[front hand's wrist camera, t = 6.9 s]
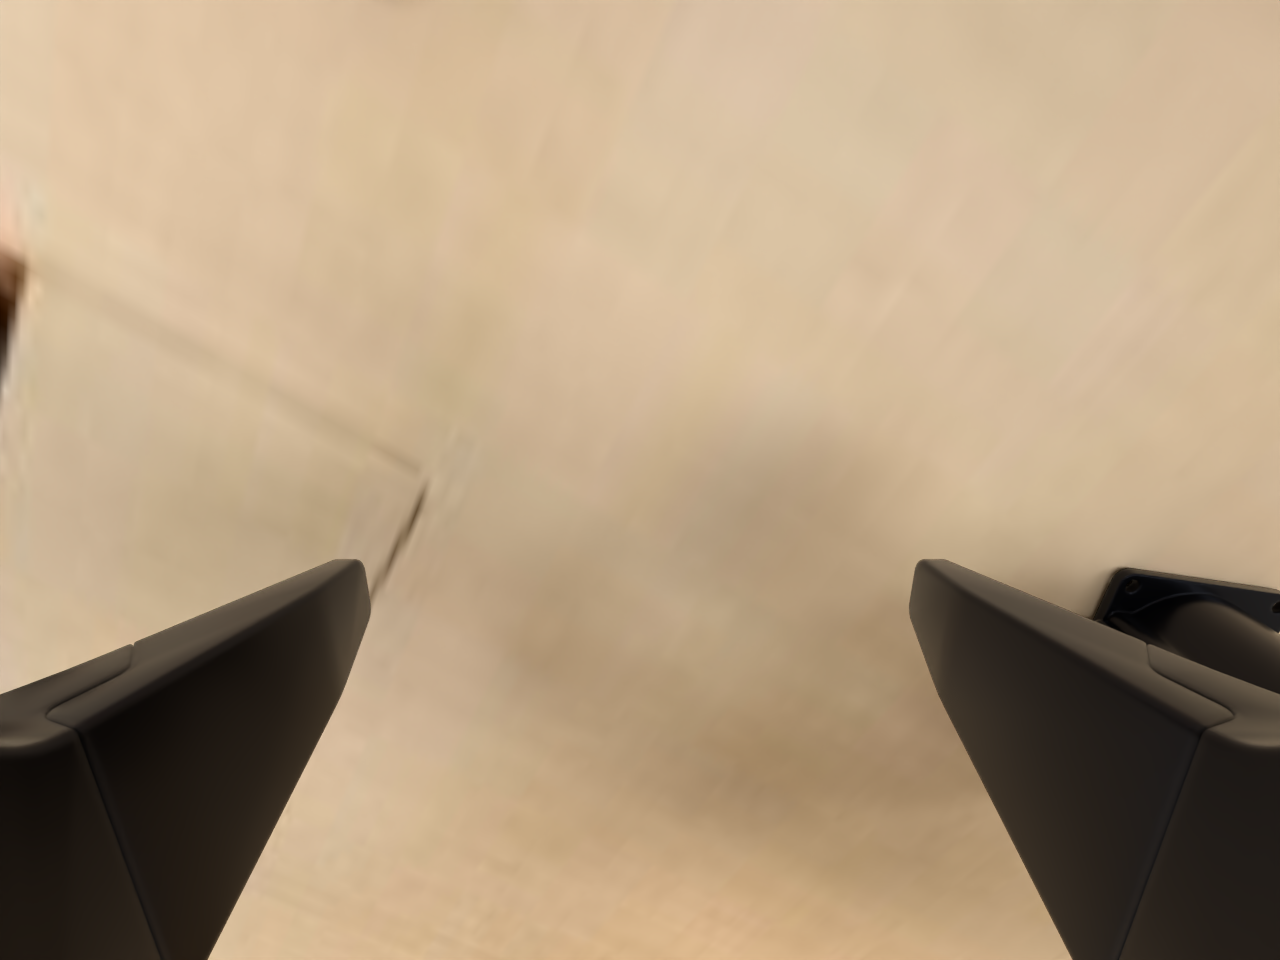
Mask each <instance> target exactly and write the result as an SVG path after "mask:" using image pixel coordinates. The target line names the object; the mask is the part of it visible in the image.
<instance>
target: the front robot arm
mask: <svg viewBox="0 0 1280 960" xmlns="http://www.w3.org/2000/svg"><path fill="white" fill-rule="evenodd" d="M1132 580H1133V581H1132ZM1130 581H1132V583H1131V584H1130V585H1128V586H1127V587H1126V585H1127V583H1128V582H1130ZM1275 603H1276V604H1275ZM1274 604H1275V605H1274ZM1273 605H1274V606H1273ZM370 613H371V603H370V597H369V591H368V585H367V578H366V572H365V568H364V565H363V563H362V562H361V561H360V560H357V559H336V560H332V561H330V562H328V563H325V564H323V565H320V566H318V567H315V568H313V569H311V570H308V571H306V572H303V573H301V574H299V575H296V576H294V577H291V578H289V579H286V580H284V581H282V582H279V583H277V584H274V585H272V586H270V587H267V588H265V589H262V590H260V591H257V592H255V593H253V594H250V595H248V596H245V597H243V598H240V599H238V600H236V601H233V602H231V603H228V604H226V605H224V606H221V607H219V608H216V609H214V610H211V611H209V612H207V613H204V614H202V615H199V616H197V617H195V618H192V619H190V620H187V621H185V622H182V623H180V624H178V625H175V626H173V627H170V628H168V629H165V630H163V631H161V632H158V633H156V634H153V635H151V636H149V637H146V638H144V639H141V640H139V641H136V642H135V643H134V646H133V645H131V644H130V645H127V646H124V647H122V648H119V649H117V650H114V651H112V652H110V653H107V654H105V655H102V656H100V657H97V658H95V659H92V660H90V661H87V662H85V663H82V664H80V665H77V666H75V667H72V668H70V669H67V670H65V671H62V672H59V673H57V674H54V675H51V676H49V677H46V678H43V679H41V680H38V681H35V682H33V683H30V684H28V685H25V686H22V687H20V688H17V689H14V690H11V691H9V692H6V693H3V694H0V960H208V958H209V956H210V954H211V952H212V950H213V948H214V946H215V944H216V942H217V940H218V938H219V936H220V934H221V932H222V930H223V928H224V926H225V924H226V922H227V920H228V918H229V916H230V914H231V912H232V910H233V908H234V906H235V904H236V902H237V900H238V898H239V897H240V895H241V893H242V891H243V889H244V887H245V885H246V883H247V881H248V879H249V877H250V875H251V873H252V871H253V869H254V867H255V865H256V863H257V861H258V859H259V857H260V855H261V853H262V851H263V849H264V847H265V845H266V843H267V841H268V839H269V837H270V835H271V833H272V831H273V830H274V828H275V826H276V824H277V822H278V820H279V818H280V816H281V814H282V812H283V810H284V808H285V806H286V804H287V802H288V800H289V798H290V796H291V794H292V792H293V790H294V788H295V786H296V784H297V782H298V780H299V778H300V776H301V774H302V772H303V770H304V768H305V766H306V764H307V763H308V761H309V759H310V757H311V755H312V753H313V751H314V749H315V747H316V745H317V743H318V741H319V739H320V737H321V735H322V733H323V731H324V729H325V727H326V725H327V723H328V721H329V719H330V717H331V715H332V713H333V711H334V709H335V707H336V705H337V703H338V701H339V699H340V697H341V695H342V692H343V690H344V687H345V685H346V682H347V679H348V677H349V674H350V671H351V668H352V666H353V663H354V660H355V657H356V655H357V652H358V649H359V646H360V644H361V641H362V638H363V635H364V633H365V630H366V627H367V624H368V622H369V618H370ZM909 613H910V618H911V622H912V624H913V627H914V630H915V633H916V635H917V638H918V641H919V644H920V646H921V649H922V652H923V655H924V657H925V660H926V663H927V666H928V668H929V671H930V674H931V677H932V679H933V682H934V685H935V687H936V690H937V692H938V695H939V697H940V699H941V701H942V703H943V705H944V707H945V709H946V711H947V713H948V715H949V717H950V719H951V721H952V723H953V725H954V727H955V729H956V731H957V733H958V735H959V737H960V739H961V741H962V743H963V745H964V747H965V749H966V751H967V753H968V755H969V757H970V759H971V761H972V763H973V765H974V766H975V768H976V770H977V772H978V774H979V776H980V778H981V780H982V782H983V784H984V786H985V788H986V790H987V792H988V794H989V796H990V798H991V800H992V802H993V804H994V806H995V808H996V810H997V812H998V814H999V816H1000V818H1001V820H1002V822H1003V824H1004V826H1005V828H1006V830H1007V832H1008V833H1009V835H1010V837H1011V839H1012V841H1013V843H1014V845H1015V847H1016V849H1017V851H1018V853H1019V855H1020V857H1021V859H1022V861H1023V863H1024V865H1025V867H1026V869H1027V871H1028V873H1029V875H1030V877H1031V879H1032V881H1033V883H1034V885H1035V887H1036V889H1037V891H1038V893H1039V895H1040V897H1041V899H1042V901H1043V902H1044V904H1045V906H1046V908H1047V910H1048V912H1049V914H1050V916H1051V918H1052V920H1053V922H1054V924H1055V926H1056V928H1057V930H1058V932H1059V934H1060V936H1061V938H1062V940H1063V942H1064V944H1065V946H1066V948H1067V950H1068V952H1069V954H1070V956H1071V958H1072V960H1280V634H1279V632H1280V591H1279V590H1277V589H1270V588H1263V587H1256V586H1249V585H1242V584H1235V583H1228V582H1222V581H1215V580H1208V579H1201V578H1194V577H1187V576H1180V575H1173V574H1166V573H1160V572H1153V571H1146V570H1139V569H1132V568H1128V569H1123V570H1120V571H1119V572H1118V573H1116V574H1115V575H1114V577H1113V578H1112V580H1111V582H1110V584H1109V587H1108V589H1107V591H1106V593H1105V595H1104V598H1103V600H1102V602H1101V604H1100V606H1099V608H1098V611H1097V613H1096V615H1095V617H1094V619H1093V620H1090V619H1088V618H1085V617H1083V616H1081V615H1078V614H1076V613H1073V612H1071V611H1069V610H1066V609H1064V608H1061V607H1059V606H1056V605H1054V604H1052V603H1049V602H1047V601H1044V600H1042V599H1040V598H1037V597H1035V596H1032V595H1030V594H1027V593H1025V592H1023V591H1020V590H1018V589H1015V588H1013V587H1010V586H1008V585H1006V584H1003V583H1001V582H998V581H996V580H994V579H991V578H989V577H986V576H984V575H981V574H979V573H977V572H974V571H972V570H969V569H967V568H965V567H962V566H960V565H957V564H955V563H952V562H950V561H948V560H944V559H923V560H920V561H919V562H918V563H917V565H916V568H915V572H914V578H913V585H912V591H911V597H910V603H909Z"/></svg>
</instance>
